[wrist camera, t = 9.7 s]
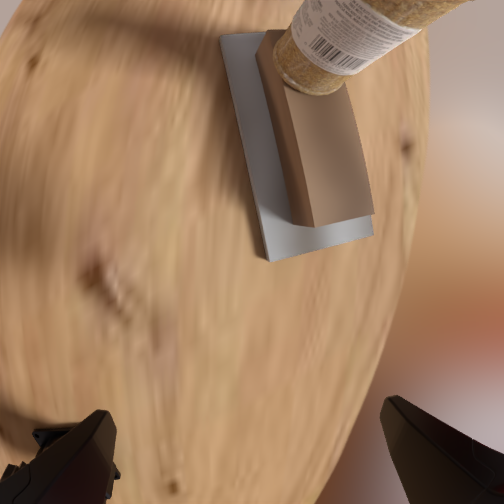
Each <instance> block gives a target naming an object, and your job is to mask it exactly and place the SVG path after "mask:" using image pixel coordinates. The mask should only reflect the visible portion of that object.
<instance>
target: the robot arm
mask: <svg viewBox="0 0 504 504" xmlns="http://www.w3.org/2000/svg"><path fill="white" fill-rule="evenodd" d="M380 421H381V424H382V428H383V431H384V435H385V438H386V442H387V445H388V449H389V452H390V456H391V458H392V461H393V463H394V465H395V468H396V470H397V473H398V475H399V478H400V480H401V483H402V485H403V488H404V490H405V493H406V495H407V498H408V501H409V503H410V504H504V454H503V453H500V452H498V451H496V450H494V449H491V448H489V447H487V446H485V445H483V444H481V443H480V442H478V441H476V440H474V439H473V440H472V438H470V437H469V436H467V435H465V434H463V433H462V432H460V431H458V430H456V429H454V428H453V427H451V426H449V425H447V424H446V423H444V422H442V421H440V420H439V419H437V418H435V417H434V416H432V415H430V414H429V413H427V412H425V411H423V410H422V409H420V408H418V407H417V406H415V405H413V404H412V403H410V402H408V401H407V400H405V399H403V398H402V397H400V396H398V395H393V396H389V397H386V398H385V400H384V403H383V406H382V410H381V412H380ZM37 434H38V435H37ZM116 434H117V430H116V426H115V423H114V421H113V419H112V416H111V414H110V412H109V411H107V410H99V409H98V410H96V411H94V412H93V413H92V414H91V415H89V416H88V417H87V418H86V419H84V420H83V421H82V422H80V423H79V424H78V425H77V426H75V427H72V428H55V429H34V431H33V432H32V435H33V437H34V438H35V440H36V441H37V443H38V444H39V446H40V449H39V451H38V453H37V455H36V457H35V458H34V459H33V460H32V461H31V462H30V463H28V464H26V463H25V462H23V461H22V462H21V464H20V465H19V467H18V466H17V465H16V466H15V465H11V464H8V466H7V467H6V469H5V471H4V473H3V475H2V477H1V479H0V504H106V500H107V499H110V498H111V496H112V489H113V483H114V480H118V479H120V476H121V474H120V472H119V471H118V469H117V468H116V465H115V464H114V462H113V456H114V448H115V441H116Z"/></svg>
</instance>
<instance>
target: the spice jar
mask: <svg viewBox="0 0 504 504" xmlns="http://www.w3.org/2000/svg"><path fill="white" fill-rule="evenodd" d="M467 1H474V0H305V1H304V2H303V4H302V5H301V7H300V8H299V10H298V11H297V13H296V14H295V16H294V18H293V20H292V23H291V24H290V26H289V27H288V29H287V30H286V32H285V34H284V35H283V36H282V37H281V38H280V39H279V40H278V41H277V43H276V44H275V46H274V49H273V57H272V58H273V62H274V65H275V67H276V69H277V72H278V73H279V74H280V76H281V77H282V79H283V80H284V81H285V82H286V83H287V84H289V85H290V86H291V87H293V88H294V89H297V90H299V91H300V92H303V93H306V94H310V95H315V96H319V95H328V94H330V93H332V92H335V91H336V90H338V89H339V88H340V87H341V86H342V84H343V83H344V82H345V81H346V80H348V79H349V78H350V77H352V76H353V75H355V74H356V73H358V72H360V71H361V70H362V69H364V68H365V67H367V66H368V65H370V64H371V63H373V62H374V61H376V60H377V59H379V58H380V57H382V56H383V55H385V54H386V53H388V52H389V51H391V50H392V49H394V48H395V47H397V46H398V45H400V44H401V43H403V42H404V41H406V40H407V39H409V38H411V37H412V36H414V35H415V34H417V33H418V32H420V31H421V30H422V29H423V28H425V27H426V26H428V25H429V24H431V23H432V22H434V21H436V20H437V19H438V18H440V17H441V16H444V15H445V14H447V13H448V12H450V11H451V10H453V9H455V8H456V7H458V6H459V5H460V4H462V3H464V2H467Z"/></svg>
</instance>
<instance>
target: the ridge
mask: <svg viewBox="0 0 504 504" xmlns="http://www.w3.org/2000/svg"><path fill="white" fill-rule="evenodd" d="M285 32H286V30H267V32H258V33H242V34H230V35H221V36H220V40H219V42H220V46H221V51H222V55H223V60H224V64H225V68H226V73H227V77H228V82H229V86H230V91H231V95H232V99H233V104H234V108H235V113H236V117H237V122H238V127H239V131H240V136H241V140H242V145H243V149H244V154H245V159H246V163H247V168H248V173H249V177H250V182H251V187H252V191H253V196H254V201H255V206H256V210H257V215H258V220H259V225H260V229H261V234H262V239H263V244H264V249H265V254H266V258H267V261H269V262H273V261H277V260H281V259H285V258H289V257H293V256H297V255H301V254H304V253H308V252H312V251H316V250H320V249H323V248H327V247H331V246H335V245H339V244H342V243H346V242H350V241H354V240H357V239H361V238H365V237H369V236H372V235H374V233H373V226H372V220H371V215H372V214H375V213H374V207H373V201H372V195H371V189H370V184H369V179H368V174H367V169H366V164H365V159H364V154H363V150H362V145H361V141H360V137H359V133H358V128H357V124H356V120H355V117H354V113H353V109H352V105H351V102H350V98H349V95H348V91H347V88H346V84H345V82H344V83H343V84H342V86H341V87H340V88H339V89H338V90H336V91H335V92H332V93H330V94H328V95H319V96H315V95H310V94H306V93H303V92H300V91H299V90H297V89H294V88H293V87H291V86H290V85H289V84H287V83H286V82H285V81H284V80H283V79H282V77H281V76H280V74H279V73H278V72H277V69H276V67H275V65H274V62H273V58H272V57H273V49H274V46H275V44H276V43H277V41H278V40H279V39H280V38H281V37H282V36H283V35H284V34H285Z"/></svg>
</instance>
